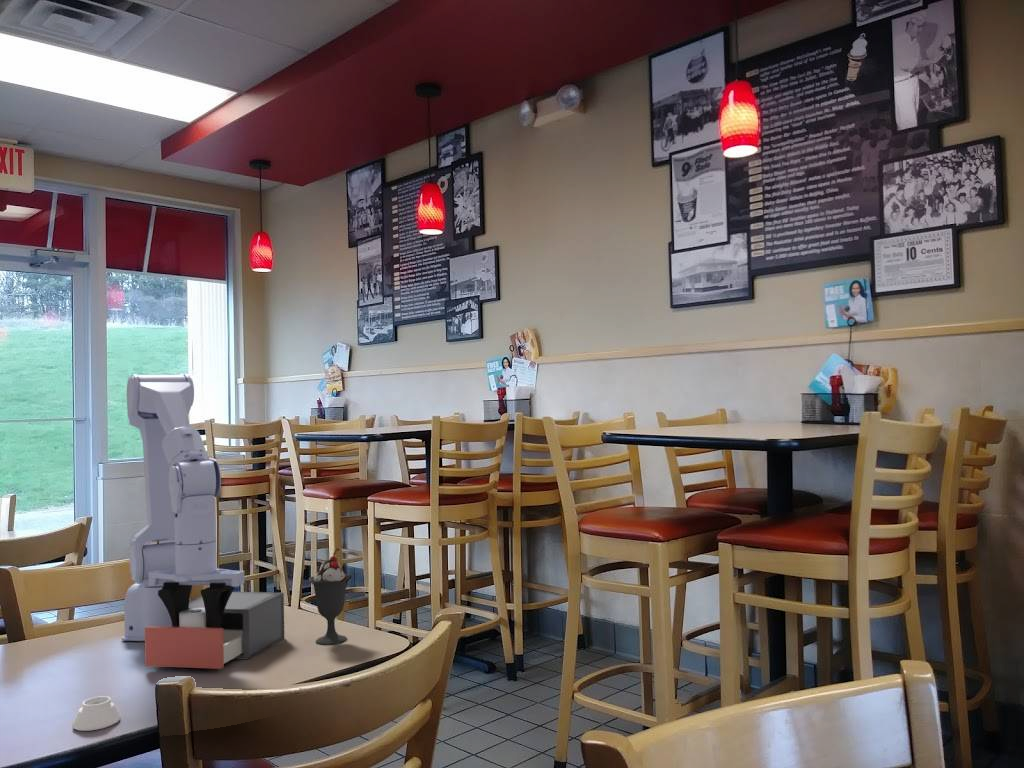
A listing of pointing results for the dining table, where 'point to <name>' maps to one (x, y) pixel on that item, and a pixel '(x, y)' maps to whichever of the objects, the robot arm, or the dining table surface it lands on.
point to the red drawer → (191, 646)
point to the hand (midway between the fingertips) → (197, 634)
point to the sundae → (330, 596)
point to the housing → (252, 619)
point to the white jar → (96, 714)
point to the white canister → (192, 618)
